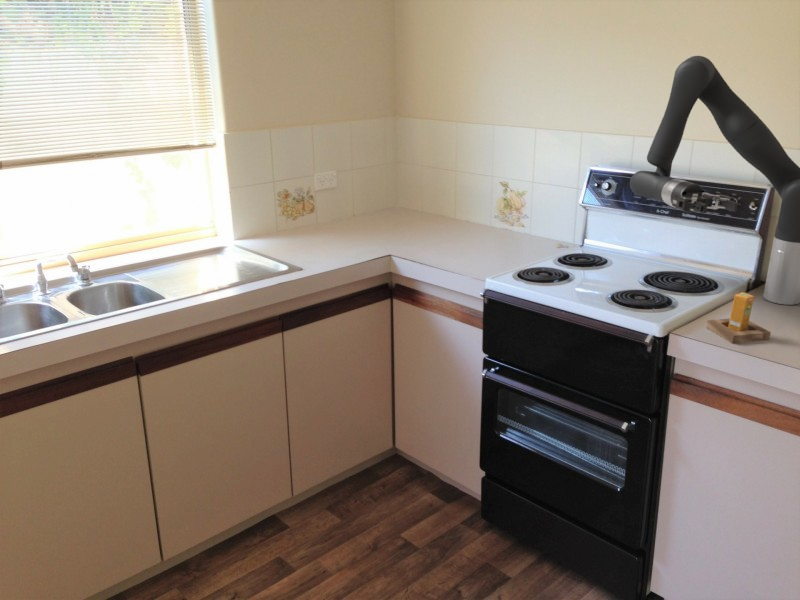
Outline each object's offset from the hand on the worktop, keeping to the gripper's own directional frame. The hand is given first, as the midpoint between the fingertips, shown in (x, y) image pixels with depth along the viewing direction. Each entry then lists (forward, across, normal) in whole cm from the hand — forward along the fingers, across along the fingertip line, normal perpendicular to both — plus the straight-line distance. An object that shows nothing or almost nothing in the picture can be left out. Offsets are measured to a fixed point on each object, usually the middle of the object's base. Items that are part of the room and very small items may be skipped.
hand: (720, 208), depth 179 cm
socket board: (+13, 0, +28) cm, 31 cm away
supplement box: (+13, 0, +28) cm, 31 cm away
